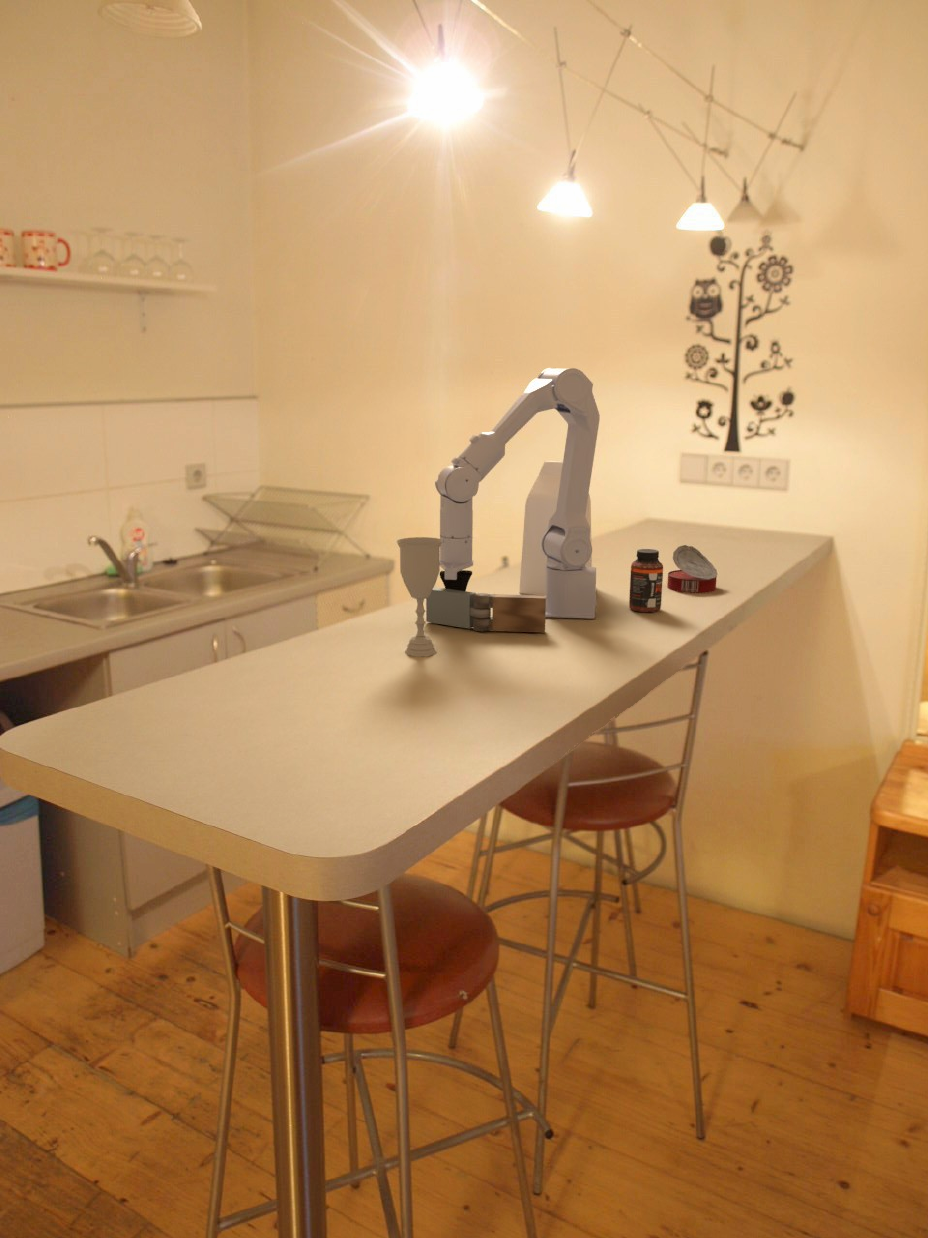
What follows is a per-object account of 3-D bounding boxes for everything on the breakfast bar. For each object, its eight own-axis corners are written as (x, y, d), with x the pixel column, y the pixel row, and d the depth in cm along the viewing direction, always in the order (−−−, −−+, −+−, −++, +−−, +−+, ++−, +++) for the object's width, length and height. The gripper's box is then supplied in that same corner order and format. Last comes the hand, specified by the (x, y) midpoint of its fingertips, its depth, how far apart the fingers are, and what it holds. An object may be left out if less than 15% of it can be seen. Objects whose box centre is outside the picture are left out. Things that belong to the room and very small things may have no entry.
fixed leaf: (545, 628, 173) (546, 595, 171) (544, 633, 170) (545, 598, 168) (474, 626, 174) (474, 592, 173) (472, 630, 171) (472, 596, 170)
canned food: (700, 605, 211) (725, 564, 209) (707, 612, 201) (733, 568, 200) (653, 579, 211) (678, 538, 210) (658, 584, 201) (683, 541, 200)
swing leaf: (493, 628, 173) (494, 594, 171) (484, 632, 171) (485, 597, 169) (434, 618, 179) (434, 586, 178) (424, 622, 177) (424, 589, 175)
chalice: (408, 660, 155) (407, 546, 151) (391, 649, 161) (389, 539, 157) (450, 654, 159) (450, 542, 154) (432, 644, 164) (431, 535, 160)
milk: (519, 593, 201) (521, 463, 195) (537, 581, 211) (539, 458, 205) (576, 598, 197) (581, 465, 190) (592, 586, 207) (596, 460, 201)
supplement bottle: (660, 614, 184) (664, 553, 181) (628, 612, 185) (630, 552, 183) (661, 606, 190) (664, 548, 187) (629, 605, 191) (632, 546, 188)
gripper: (439, 528, 182) (439, 600, 185) (426, 542, 168) (427, 620, 171) (478, 529, 181) (477, 602, 184) (468, 543, 167) (467, 622, 170)
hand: (455, 611), depth 178 cm, fingers closed, pressing on swing leaf
